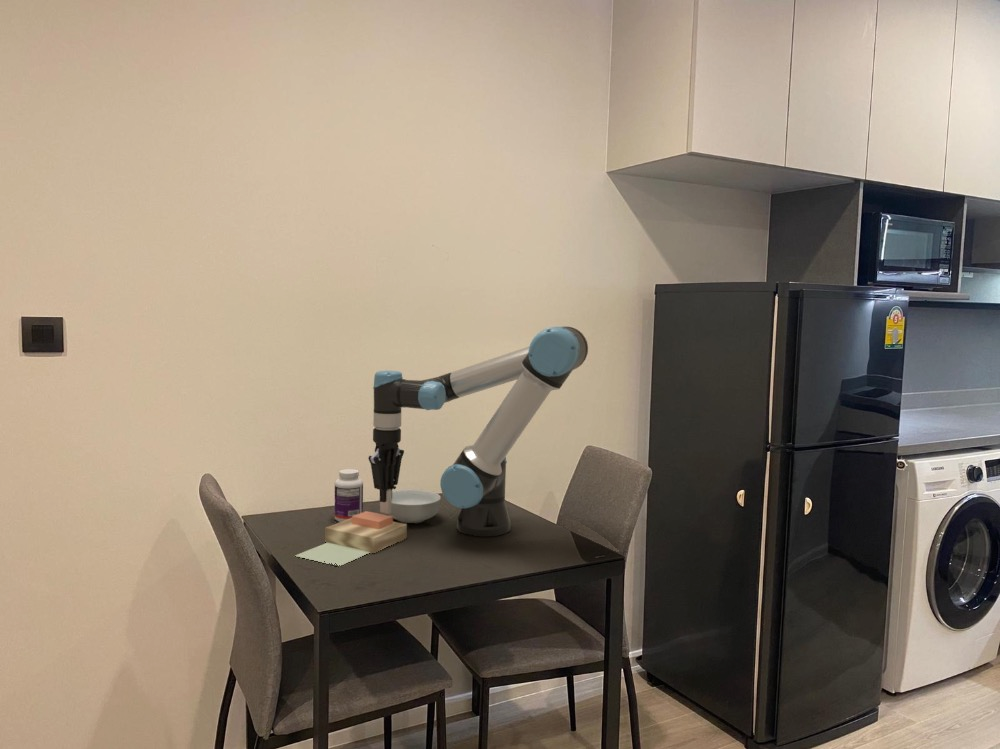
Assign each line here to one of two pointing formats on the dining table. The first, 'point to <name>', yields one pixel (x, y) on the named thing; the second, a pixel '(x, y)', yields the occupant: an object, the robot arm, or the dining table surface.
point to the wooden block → (365, 535)
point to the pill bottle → (348, 495)
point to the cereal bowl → (414, 505)
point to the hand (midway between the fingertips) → (385, 512)
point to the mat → (333, 554)
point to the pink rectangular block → (372, 520)
